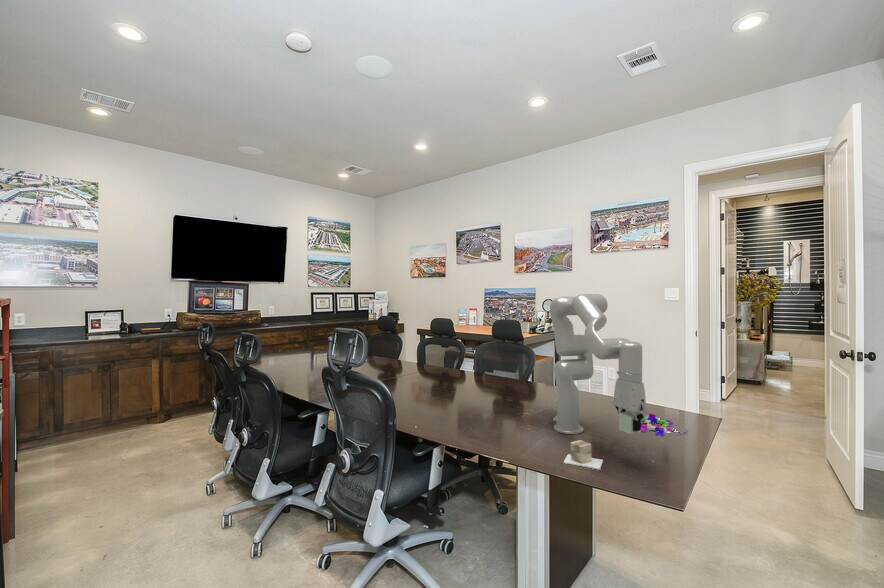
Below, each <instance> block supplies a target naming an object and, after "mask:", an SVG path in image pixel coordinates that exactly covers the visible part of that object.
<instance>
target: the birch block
mask: <svg viewBox="0 0 884 588" xmlns="http://www.w3.org/2000/svg"><path fill="white" fill-rule="evenodd" d="M570 454H571V459H572V460H574V461H576V462H578V463H580V464H583V463H586V462H590V461H592V458H593V457H592V455H593V454H592V444H591V443H589V442H587V441H584V440H582V439H580V440H579V439H578V440H575V441H571V442H570Z"/></svg>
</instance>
